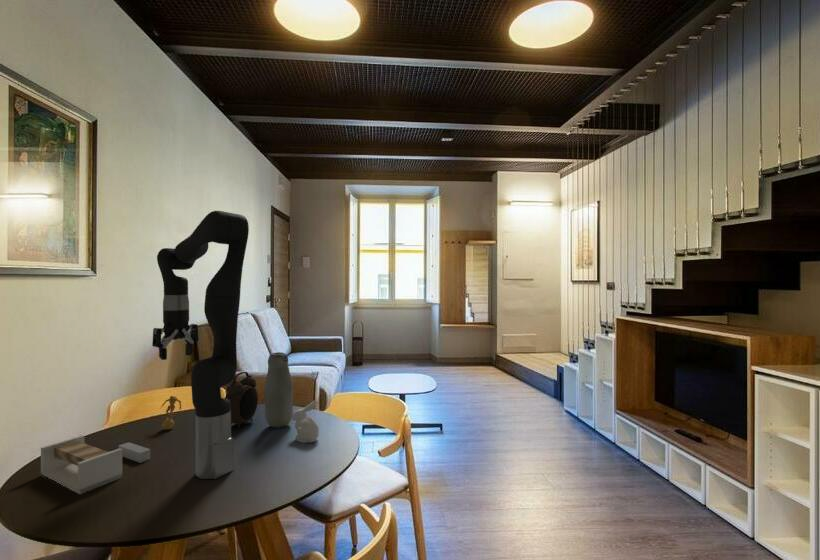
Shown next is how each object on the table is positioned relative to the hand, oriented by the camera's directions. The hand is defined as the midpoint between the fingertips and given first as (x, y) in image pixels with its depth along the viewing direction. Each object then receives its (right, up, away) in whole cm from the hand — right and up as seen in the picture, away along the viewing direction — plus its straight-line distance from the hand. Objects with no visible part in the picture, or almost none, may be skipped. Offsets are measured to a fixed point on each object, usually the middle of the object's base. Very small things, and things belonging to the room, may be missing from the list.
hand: (176, 357), depth 133 cm
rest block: (-9, -30, -7) cm, 32 cm away
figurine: (-12, -30, +17) cm, 37 cm away
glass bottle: (+28, -30, +19) cm, 45 cm away
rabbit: (+41, -30, +7) cm, 51 cm away
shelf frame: (-16, -30, -20) cm, 39 cm away
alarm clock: (+13, -30, +21) cm, 39 cm away
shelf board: (-16, -25, -20) cm, 35 cm away
